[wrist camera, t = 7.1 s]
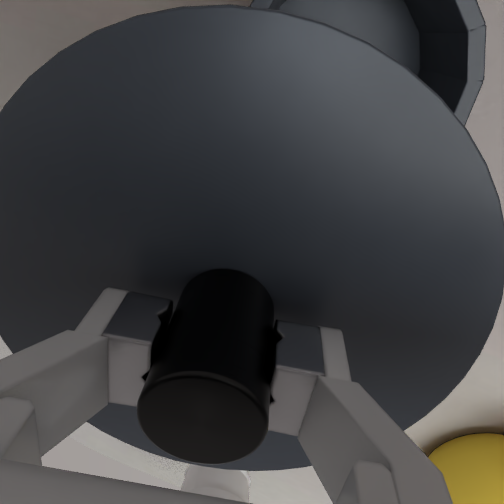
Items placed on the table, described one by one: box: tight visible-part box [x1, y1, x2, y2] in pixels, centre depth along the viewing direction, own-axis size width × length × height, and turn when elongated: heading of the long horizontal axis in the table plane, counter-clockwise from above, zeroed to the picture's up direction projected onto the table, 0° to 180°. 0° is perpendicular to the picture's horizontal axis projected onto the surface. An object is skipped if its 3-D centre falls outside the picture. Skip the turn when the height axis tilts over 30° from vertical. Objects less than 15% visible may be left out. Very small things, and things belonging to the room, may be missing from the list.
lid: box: [0, 5, 504, 471], centre depth 9 cm, size 13×13×5 cm
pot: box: [250, 0, 486, 126], centre depth 24 cm, size 12×12×8 cm
